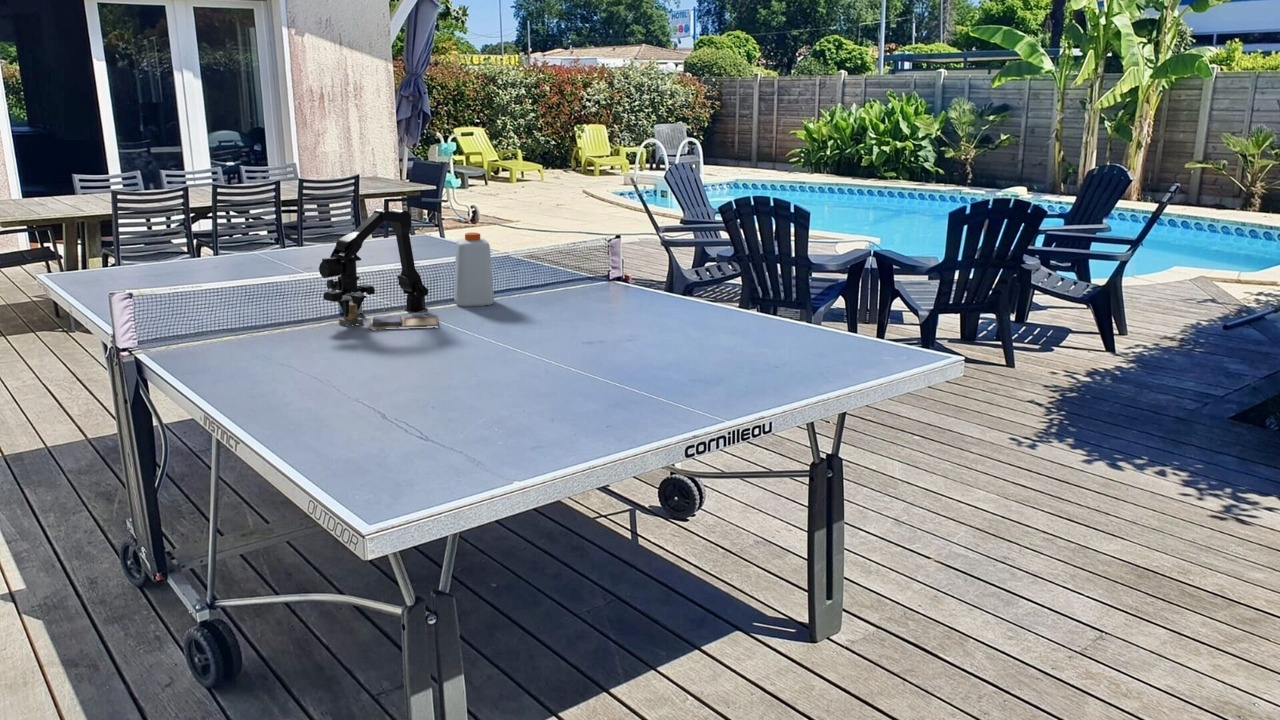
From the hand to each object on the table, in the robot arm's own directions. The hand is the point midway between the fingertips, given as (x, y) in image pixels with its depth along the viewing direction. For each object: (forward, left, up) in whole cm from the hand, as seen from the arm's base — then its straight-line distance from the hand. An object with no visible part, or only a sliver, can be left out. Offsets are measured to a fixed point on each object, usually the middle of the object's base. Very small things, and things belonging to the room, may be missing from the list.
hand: (350, 315), depth 366 cm
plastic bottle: (-54, +8, -3) cm, 55 cm away
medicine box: (-10, -13, -3) cm, 17 cm away
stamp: (0, 0, -3) cm, 3 cm away
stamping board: (-12, +15, -3) cm, 19 cm away
